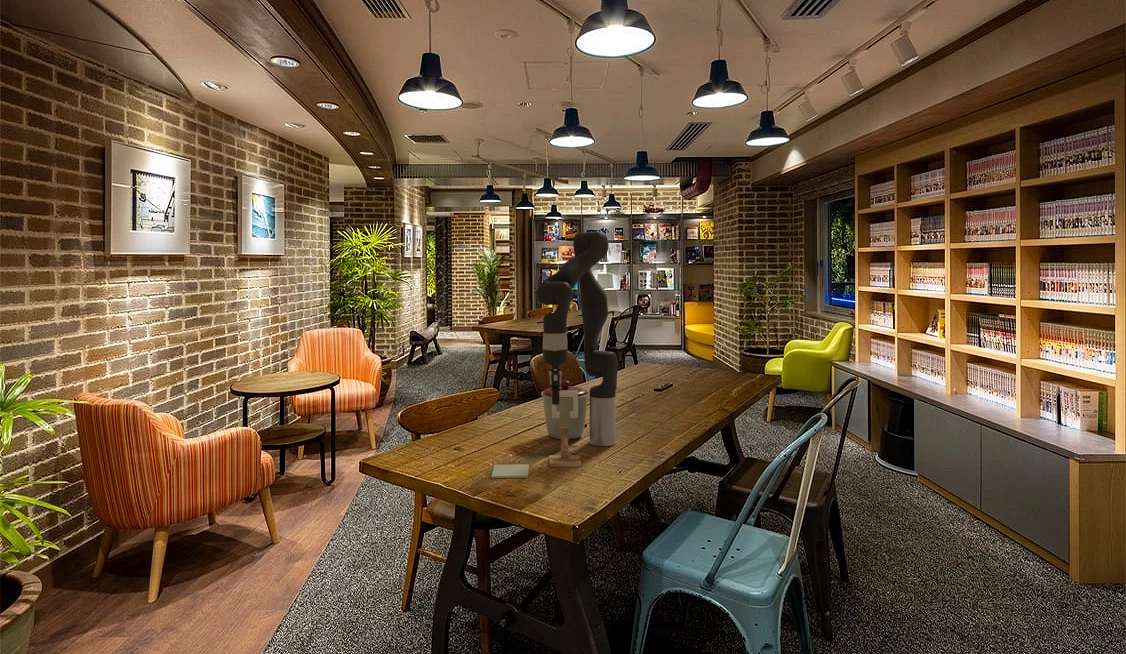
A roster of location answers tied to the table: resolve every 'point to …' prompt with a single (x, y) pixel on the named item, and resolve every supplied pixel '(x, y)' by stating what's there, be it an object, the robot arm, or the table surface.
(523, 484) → the table surface
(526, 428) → the table surface
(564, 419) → the canister
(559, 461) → the stand
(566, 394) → the pinkish grey arch
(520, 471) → the mat
